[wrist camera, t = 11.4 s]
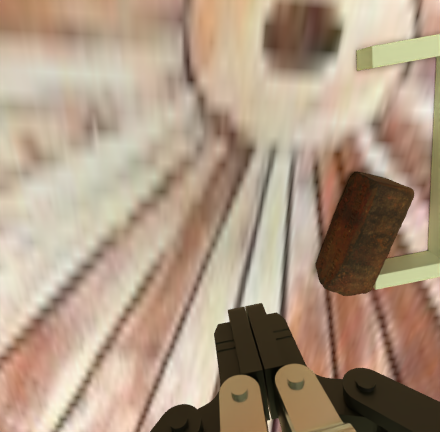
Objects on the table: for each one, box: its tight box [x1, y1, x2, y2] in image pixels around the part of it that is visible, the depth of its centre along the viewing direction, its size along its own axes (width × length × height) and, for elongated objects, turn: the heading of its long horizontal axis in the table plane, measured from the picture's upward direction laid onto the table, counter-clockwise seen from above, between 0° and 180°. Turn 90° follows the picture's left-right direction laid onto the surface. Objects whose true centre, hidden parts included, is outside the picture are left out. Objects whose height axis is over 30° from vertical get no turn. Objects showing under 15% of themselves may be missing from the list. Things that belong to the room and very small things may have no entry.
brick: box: [316, 172, 414, 296], centre depth 30 cm, size 11×4×5 cm, turn 166°
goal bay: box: [356, 34, 440, 289], centre depth 30 cm, size 8×21×2 cm, turn 10°
